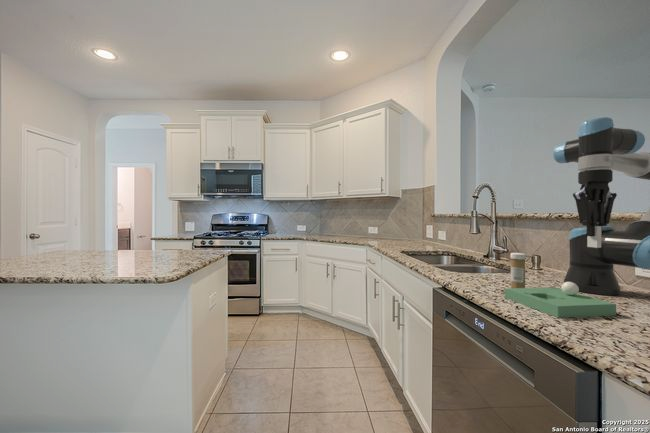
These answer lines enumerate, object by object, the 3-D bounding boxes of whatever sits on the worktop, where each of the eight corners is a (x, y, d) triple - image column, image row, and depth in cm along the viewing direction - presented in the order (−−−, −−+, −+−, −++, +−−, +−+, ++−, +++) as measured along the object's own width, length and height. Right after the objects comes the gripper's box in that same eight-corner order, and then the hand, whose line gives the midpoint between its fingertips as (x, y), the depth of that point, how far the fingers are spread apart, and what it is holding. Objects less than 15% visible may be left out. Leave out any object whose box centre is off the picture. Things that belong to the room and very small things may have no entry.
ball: (569, 293, 85) (569, 280, 85) (582, 296, 82) (582, 283, 82) (557, 293, 85) (557, 280, 85) (570, 297, 81) (570, 283, 81)
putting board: (553, 296, 93) (553, 287, 93) (616, 315, 75) (616, 304, 75) (504, 297, 90) (504, 288, 90) (557, 317, 73) (557, 306, 73)
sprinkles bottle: (527, 290, 99) (527, 253, 99) (522, 292, 97) (522, 254, 97) (513, 288, 103) (513, 252, 103) (507, 289, 100) (508, 253, 101)
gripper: (589, 167, 80) (588, 248, 80) (627, 169, 81) (627, 248, 81) (564, 171, 87) (563, 245, 87) (599, 173, 89) (598, 245, 89)
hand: (594, 247), depth 84 cm, fingers closed
